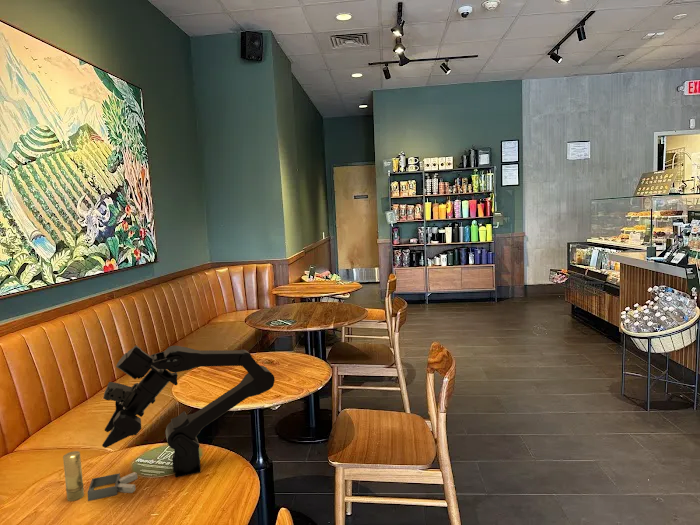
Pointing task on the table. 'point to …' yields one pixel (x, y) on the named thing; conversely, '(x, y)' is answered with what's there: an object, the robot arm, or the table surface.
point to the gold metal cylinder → (73, 475)
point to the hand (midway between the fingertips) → (104, 438)
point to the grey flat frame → (111, 491)
